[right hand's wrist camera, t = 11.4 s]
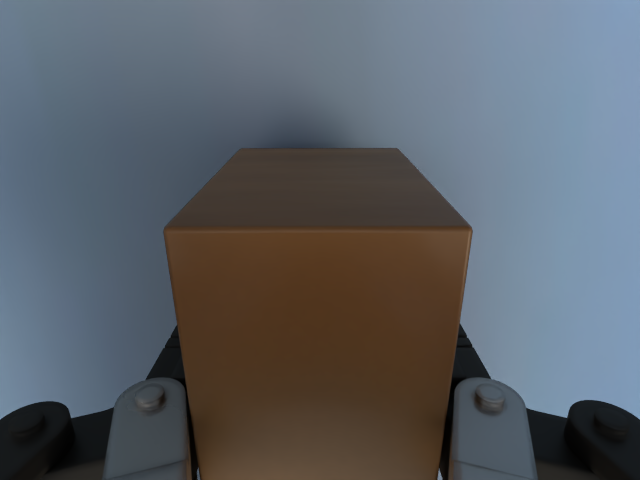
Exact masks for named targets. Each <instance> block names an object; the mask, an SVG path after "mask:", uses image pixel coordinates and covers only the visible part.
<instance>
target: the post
mask: <svg viewBox="0 0 640 480" xmlns="http://www.w3.org/2000/svg"><path fill="white" fill-rule="evenodd" d="M163 232H164V239H165V246H166V253H167V259H168V266H169V273H170V279H171V286H172V293H173V299H174V306H175V313H176V320H177V326H178V333H179V340H180V346H181V353H182V360H183V367H184V373H185V380H186V387H187V393H188V400H189V407H190V413H191V420H192V427H193V434H194V440H195V447H196V454H197V460H198V467H199V474H200V480H437V478H438V471H439V464H440V457H441V450H442V443H443V436H444V429H445V422H446V415H447V408H448V401H449V394H450V387H451V380H452V373H453V366H454V359H455V351H456V344H457V337H458V330H459V323H460V316H461V309H462V302H463V295H464V288H465V281H466V274H467V267H468V260H469V253H470V246H471V239H472V232H473V230H472V227H471V226H470V225H469V224H468V223H467V222H466V220H465V219H464V218H463V217H462V216H461V215H460V214H459V213H458V212H457V211H456V210H455V209H454V208H453V207H452V206H451V204H450V203H449V202H448V201H447V200H446V199H445V198H444V197H443V196H442V195H441V194H440V193H439V192H438V191H437V190H436V189H435V187H434V186H433V185H432V184H431V183H430V182H429V181H428V180H427V179H426V178H425V177H424V176H423V175H422V174H421V173H420V171H419V170H418V169H417V168H416V167H415V166H414V165H413V164H412V163H411V162H410V161H409V160H408V159H407V158H406V157H405V155H404V154H403V153H402V152H401V151H400V150H399V149H397V148H241V149H239V150H238V151H237V152H236V153H235V155H234V156H233V157H232V158H231V159H230V160H229V161H228V162H227V163H226V164H225V165H224V166H223V167H222V168H221V169H220V170H219V171H218V172H217V173H216V174H215V175H214V176H213V177H212V178H211V179H210V180H209V182H208V183H207V184H206V185H205V186H204V187H203V188H202V189H201V190H200V191H199V192H198V193H197V194H196V195H195V196H194V197H193V198H192V199H191V200H190V201H189V202H188V203H187V204H186V205H185V206H184V207H183V209H182V210H181V211H180V212H179V213H178V214H177V215H176V216H175V217H174V218H173V219H172V220H171V221H170V222H169V223H168V224H167V225H166V226H165V227H164V231H163Z"/></svg>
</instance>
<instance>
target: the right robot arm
mask: <svg viewBox="0 0 640 480" xmlns="http://www.w3.org/2000/svg"><path fill="white" fill-rule="evenodd" d="M197 469H198V460H197V454H196V447H195V440H194V434H193V427H192V420H191V413H190V407H189V400H188V393H187V387H186V380H185V373H184V367H183V360H182V353H181V346H180V340H179V333H178V326H176V327H175V329H174V331H173V333H172V334H171V338H169V340H168V341H167V343H166V345H165V348H163V350H162V352H161V354H160V355H159V357H158V359H157V361H156V362H155V364H154V366H153V368H152V369H151V371H150V373H149V375H148V376H147V378H146V380H144V381H141V382H139V383H137V384H135V385H133V386H131V387H129V388H128V389H127V390H125V391H124V392H123V393H122V394H121V395H120V396H119V398H118V399H117V401H116V403H115V406H114V407H113V408H111V409H108V410H105V411H101V412H97V413H93V414H89V415H84V416H80V417H75V418H71V416H70V413H69V410H68V408H67V407H66V406H65V405H64V404H62V403H59V402H53V401H46V402H39V403H34V404H31V405H27V406H25V407H22V408H19V409H17V410H15V411H13V412H11V413H10V414H8V415H6V416H5V417H3V418H2V419H1V420H0V480H198V479H197ZM439 469H440V472H441V475H442V478H443V479H442V480H640V420H639V419H638V418H637V417H635V416H634V415H632V414H631V413H629V412H627V411H626V410H624V409H622V408H619V407H617V406H615V405H612V404H609V403H605V402H601V401H595V400H584V401H579V402H576V403H574V404H573V405H572V406H571V407H570V410H569V413H568V417H567V418H564V417H560V416H555V415H551V414H547V413H542V412H538V411H534V410H530V409H528V408H526V406H525V403H524V401H523V399H522V398H521V396H520V395H519V394H518V393H517V392H516V391H515V390H513V389H512V388H511V387H509V386H507V385H505V384H503V383H501V382H499V381H496V380H492V379H491V378H490V376H489V374H488V372H487V370H486V369H485V367H484V365H483V363H482V362H481V360H480V358H479V356H478V355H477V353H476V351H475V349H474V348H472V344H471V342H470V340H469V339H468V338H467V335H466V333H465V331H464V330H463V328H462V326H461V324H460V323H459V330H458V337H457V344H456V351H455V359H454V366H453V373H452V380H451V387H450V394H449V401H448V408H447V415H446V422H445V429H444V436H443V443H442V450H441V457H440V464H439Z"/></svg>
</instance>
